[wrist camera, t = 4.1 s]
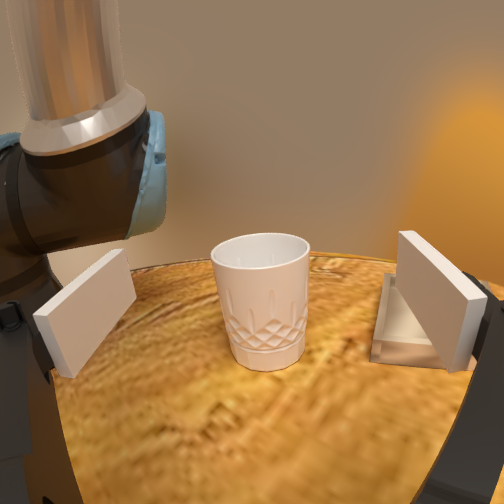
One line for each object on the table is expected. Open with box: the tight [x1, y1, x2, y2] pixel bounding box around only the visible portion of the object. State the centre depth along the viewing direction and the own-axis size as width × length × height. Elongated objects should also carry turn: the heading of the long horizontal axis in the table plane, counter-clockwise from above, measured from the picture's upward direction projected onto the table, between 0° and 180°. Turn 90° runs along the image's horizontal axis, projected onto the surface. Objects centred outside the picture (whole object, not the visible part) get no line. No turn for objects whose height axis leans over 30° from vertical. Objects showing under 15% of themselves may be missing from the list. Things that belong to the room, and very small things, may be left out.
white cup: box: [210, 233, 310, 372], centre depth 28 cm, size 8×8×10 cm
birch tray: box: [370, 273, 493, 371], centre depth 28 cm, size 13×13×2 cm
